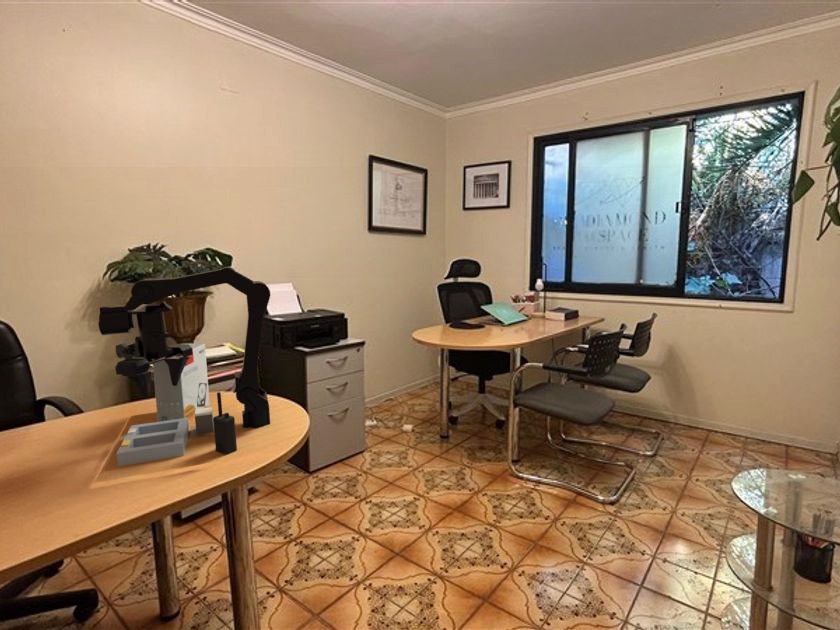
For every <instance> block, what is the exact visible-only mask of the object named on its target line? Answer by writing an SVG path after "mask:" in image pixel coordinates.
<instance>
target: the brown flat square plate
mask: <svg viewBox="0 0 840 630" xmlns="http://www.w3.org/2000/svg"><path fill="white" fill-rule="evenodd" d="M208 436H215V434H214V431H213V432H208V433H202V434H196V425H195V426H191V428H190V433H189V439H195V438H201V437H208Z"/></svg>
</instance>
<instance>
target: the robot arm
mask: <svg viewBox="0 0 840 630" xmlns="http://www.w3.org/2000/svg"><path fill="white" fill-rule="evenodd" d="M224 284H227V285H228V286H230V287H232V288H234V289H235V290H236V291H238V292H240V293H242V294H243V295H245V296H246V305H247V324H246V325H247V326H246V334H245V342H244V344H245V345H244V351H243V353H244V354H243V362H242V367H241V370H240V372H238V371H235V373H234V383H233V391H232V392H233V394H235V398H236V400H237V401H238V402H239V403H240V404H242V405H243V407H244V408H243V410H242V411H241V414H242V415H241V416H242V427H243V429H244V428H245V429H248V428H251V429H256V428H257V429H258V428H263V427H266V426H267V425H271V416H270V415H271V414H270V413H271V412H270V404H269V403H270V402H269V399H268V394H267V391H265V390H264V389H263V388H262V387H260V385H259V382H260V381H259V374H258V366H259V356H260V348H261V338H262V331H263V330H262V329H263V320H264V317H265V314H266V311H267V308H268V306H269V302H270V298H271V290H270V288H269V286H268V285H267V284H266V283H265V282H263V281H260V280H257V281H256V280H255V281H254V280H252V279H250V278H248V277H247V276H245V275H243V274H241V273H240V272H238V271H236V270H235V268H233V267H231V266H225V267H222V268H220V269H219V268H218V269H215V270H210V271H209V270H208V271H205V272H199V273H193V274H189V275H183V276H179V277H178V276H177V277H168V278H167V277H160V278H159V277H158V278H156V277H155V278H145V279H142V280H139V281H137V282H135V283H134V284H133V285H132V287H131V290H130V292H131V296H130V298H129V299H128V301H127V302H126V303H125V305H115V306H111V305H110V306H109V305H103V306H101V307H99V315H98V321H97V323H98V324H97V325H98V330H99V332H100V334H101V336H111V335H121V334H131V333H132V331H133V329H136V327H137V328H138V333H139V335H137V336H135V338H134V341H135V343H134V342H133V343H132V344H127V342H123V343H120V344H117V345H115V354H116V356H117V358H119V359H124V360H121V361H118V362H117V363H116V364H115V366H114V367H115V374H116V375H121V376H122V377H128V378H129V379H130V380H131V381H132V382H133V383H134V384H135V386H136V387H137V389H138V391H139V392H140V394H141V395H142V398H144V399H149V398H150V393H151V382H152V380H151V379H152V371H149V369H150V368H151V365H153V363H156V362H159V361H162V360H164V361H165V362H166V363H167V364H168V366H169V372H170V377H171V382H172V385H173V386H177V384H178V382H179V379H180V377H181V374H182V371H183V369H184V367H185V365H186V363H187V360H188V359H190V357H187V356H190V355H193V352H192V347H191V346H190V345H189V344H190V343H174V344H171V345H169V342H168V338H171V337H172V335H171V332H167V328H166V320H165V314H164V313H165V312H166V313H167V312H171V311H172V309H173V306H171V305H169V304H168V303H167V302H166V301H164V299H166V298H169V297H171V296H173V295H176V294H179V293H180V294H181V293H184V292H189V291H195V290H199V289H204V288H209V287H213V286H214V287H215V286H220V285H224ZM161 300H162V302H161V303H160V304H154V303H156V302H158V301H161ZM142 305H143V306H144V305H145V309H140V310H139V309H138V308H140V307H141V306H142ZM159 357H160V358H159ZM153 359H154V360H153Z"/></svg>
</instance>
